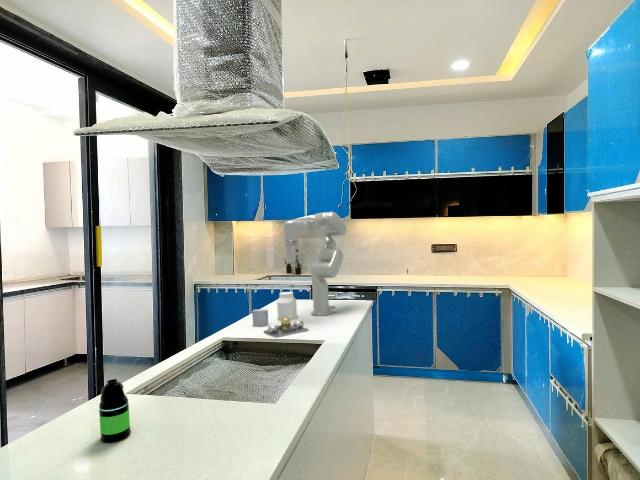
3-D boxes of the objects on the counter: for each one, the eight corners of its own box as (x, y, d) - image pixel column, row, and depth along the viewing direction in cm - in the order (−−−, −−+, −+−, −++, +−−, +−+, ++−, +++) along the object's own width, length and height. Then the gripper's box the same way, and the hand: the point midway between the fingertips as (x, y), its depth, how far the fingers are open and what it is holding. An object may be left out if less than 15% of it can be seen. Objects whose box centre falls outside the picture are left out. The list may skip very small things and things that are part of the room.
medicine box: (268, 324, 233) (267, 309, 233) (266, 326, 229) (266, 310, 229) (254, 324, 234) (254, 309, 234) (252, 326, 230) (252, 311, 229)
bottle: (99, 446, 106) (95, 388, 105) (101, 434, 112) (98, 379, 112) (130, 439, 109) (127, 382, 108) (131, 427, 115) (127, 374, 115)
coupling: (287, 328, 218) (287, 316, 217) (292, 329, 214) (291, 318, 213) (279, 329, 215) (278, 318, 215) (284, 331, 211) (283, 319, 211)
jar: (289, 320, 240) (288, 294, 239) (275, 319, 244) (274, 294, 243) (299, 316, 250) (298, 291, 250) (285, 315, 254) (284, 291, 254)
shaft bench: (295, 326, 225) (295, 318, 225) (308, 330, 214) (308, 322, 214) (263, 332, 214) (263, 324, 214) (275, 337, 204) (275, 328, 203)
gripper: (305, 242, 226) (307, 274, 227) (289, 242, 240) (291, 272, 241) (294, 244, 221) (296, 276, 222) (278, 243, 236) (280, 273, 237)
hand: (293, 273), depth 232 cm, fingers open, 9 cm apart
